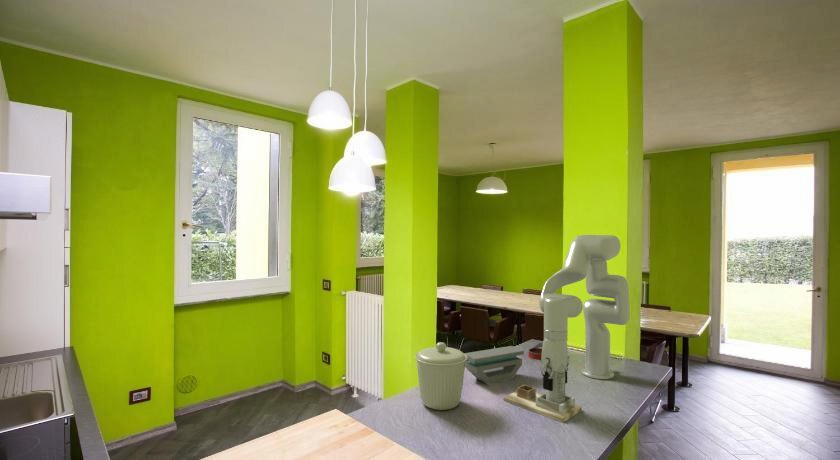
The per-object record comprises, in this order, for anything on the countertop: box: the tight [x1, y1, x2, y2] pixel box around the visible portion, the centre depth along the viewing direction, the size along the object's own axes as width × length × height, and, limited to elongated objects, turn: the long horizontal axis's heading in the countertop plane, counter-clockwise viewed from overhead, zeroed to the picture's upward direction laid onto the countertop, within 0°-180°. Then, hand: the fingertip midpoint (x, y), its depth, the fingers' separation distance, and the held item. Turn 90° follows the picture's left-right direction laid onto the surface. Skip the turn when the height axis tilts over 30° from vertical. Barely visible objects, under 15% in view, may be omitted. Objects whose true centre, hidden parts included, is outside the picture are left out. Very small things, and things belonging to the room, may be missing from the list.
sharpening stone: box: [463, 345, 525, 386], centre depth 161 cm, size 25×8×11 cm, turn 118°
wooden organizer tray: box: [503, 384, 583, 424], centre depth 136 cm, size 13×22×4 cm, turn 43°
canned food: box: [528, 341, 543, 361], centre depth 190 cm, size 11×10×10 cm
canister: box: [414, 341, 468, 411], centre depth 137 cm, size 18×18×21 cm
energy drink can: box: [545, 363, 566, 404], centre depth 133 cm, size 6×6×15 cm
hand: (555, 386), depth 132 cm, fingers open, 9 cm apart
